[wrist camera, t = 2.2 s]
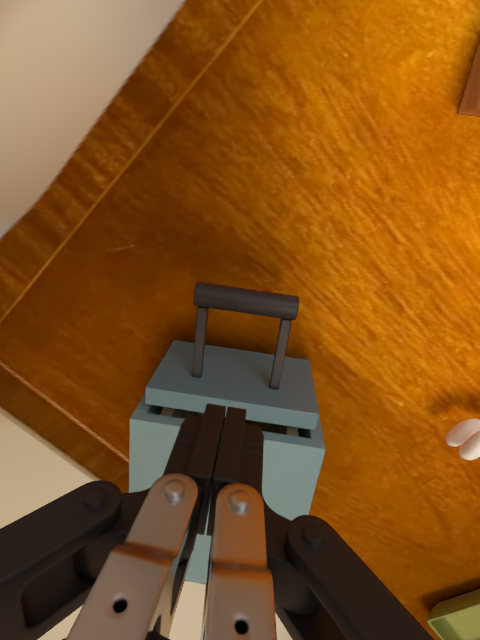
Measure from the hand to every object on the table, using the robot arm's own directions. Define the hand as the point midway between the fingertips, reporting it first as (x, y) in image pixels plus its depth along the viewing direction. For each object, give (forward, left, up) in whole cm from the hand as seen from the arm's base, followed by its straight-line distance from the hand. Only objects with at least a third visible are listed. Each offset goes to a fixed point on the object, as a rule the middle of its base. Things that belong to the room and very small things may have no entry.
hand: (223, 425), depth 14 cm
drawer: (+5, -4, -14) cm, 15 cm away
